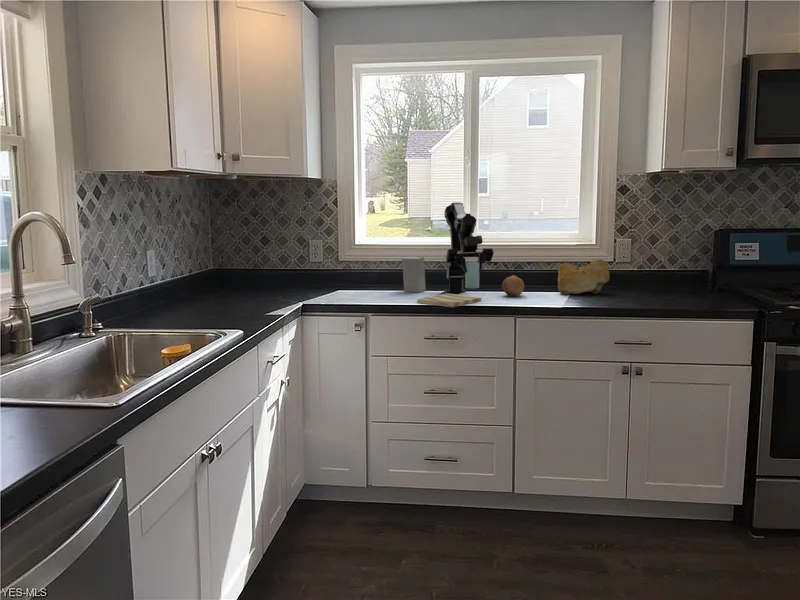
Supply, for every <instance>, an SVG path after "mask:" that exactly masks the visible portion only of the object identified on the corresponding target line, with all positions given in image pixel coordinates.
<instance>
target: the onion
mask: <svg viewBox="0 0 800 600" xmlns="http://www.w3.org/2000/svg"><path fill="white" fill-rule="evenodd" d="M501 287H502V290H503V292H504V294H506V295H507V296H508V297H520V296H521V295H522V293H523V292H524V290H525V284H524V280H523V279H521V278H520V277H518V276H517V275H516V274H513V275H509V276H508V277H505V279H503V281H502V286H501Z"/></svg>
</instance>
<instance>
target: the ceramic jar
mask: <svg viewBox="0 0 800 600" xmlns="http://www.w3.org/2000/svg"><path fill="white" fill-rule="evenodd" d="M465 262H466V263H465V266H466V272H465V280H464V286H465V288H466V289H479V288H480V272H479V262H478V261H465Z"/></svg>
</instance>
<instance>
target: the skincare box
mask: <svg viewBox="0 0 800 600" xmlns="http://www.w3.org/2000/svg"><path fill="white" fill-rule="evenodd" d="M401 262H402V264H401V265H402V274H403V275H402V278H403V292H404V293H405V292H406V293H423V292H426V290H427V289H426V286H427V285H426V273H425V272H426V271H425V269H426V268H425V257H424V256H408V257H403V258H401Z"/></svg>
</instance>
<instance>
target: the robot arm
mask: <svg viewBox="0 0 800 600" xmlns="http://www.w3.org/2000/svg"><path fill="white" fill-rule="evenodd" d="M444 219H445V220H446V221H445V222H446V224H447V225H448V227H449V229H450V230H449V231H450V234H449V235H450V248H449V249H447V252H446V256H445V259H446V262H447V263H448V265H447V269H446V279H447V280H449V286H448V287H449V290H446V292H447V293H453V294H459V293H465V292H467V290H466V289H464V279H465V272H466V266H465V263H466V262H467V261H466V259H473V258H474V259H475V258H477V259H478V260H477V262H479V273H481V272H482V266H483V264H484V263H487V262H492V259H493V256H494V254H495V253H494V249H493V248H488V247H487V248H482V251H478V252H477V250H478V246H479V245H482V243H483V237H482V235H476V236H473V235H474V233H475V227H476V226H477V218H476V217H475V216H473V215H472V214H471V213H466V211H465V206H464V204H463V202H461V201H459V202H457V201H456V202H451V203H450V205H448V206H446V207H445V209H444Z"/></svg>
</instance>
